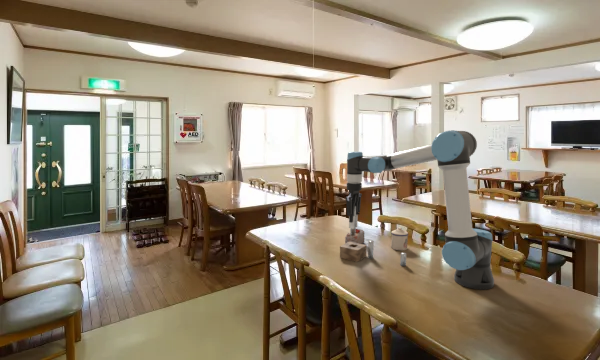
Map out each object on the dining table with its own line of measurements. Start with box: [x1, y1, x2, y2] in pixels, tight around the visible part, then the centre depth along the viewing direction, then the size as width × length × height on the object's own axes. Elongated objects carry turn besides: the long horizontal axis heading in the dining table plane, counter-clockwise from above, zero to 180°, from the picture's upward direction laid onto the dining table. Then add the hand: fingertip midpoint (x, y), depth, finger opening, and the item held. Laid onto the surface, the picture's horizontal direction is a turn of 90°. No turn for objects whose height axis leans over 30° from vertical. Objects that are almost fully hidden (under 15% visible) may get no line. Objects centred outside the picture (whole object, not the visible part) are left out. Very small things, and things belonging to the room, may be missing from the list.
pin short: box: [400, 251, 407, 267], centre depth 163 cm, size 3×3×6 cm
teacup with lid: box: [390, 227, 409, 251], centre depth 189 cm, size 12×9×12 cm
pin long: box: [349, 206, 357, 235], centre depth 172 cm, size 3×3×15 cm
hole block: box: [339, 242, 367, 263], centre depth 174 cm, size 10×10×6 cm
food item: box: [344, 228, 365, 244], centre depth 192 cm, size 14×8×10 cm, turn 150°
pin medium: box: [367, 239, 375, 260], centre depth 173 cm, size 3×3×9 cm
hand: (353, 227), depth 173 cm, fingers closed on pin long, 2 cm apart
